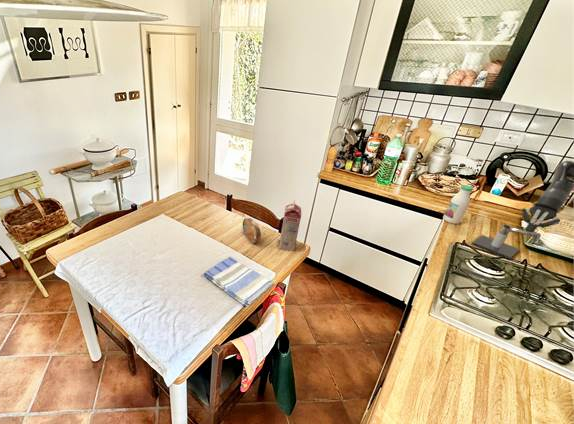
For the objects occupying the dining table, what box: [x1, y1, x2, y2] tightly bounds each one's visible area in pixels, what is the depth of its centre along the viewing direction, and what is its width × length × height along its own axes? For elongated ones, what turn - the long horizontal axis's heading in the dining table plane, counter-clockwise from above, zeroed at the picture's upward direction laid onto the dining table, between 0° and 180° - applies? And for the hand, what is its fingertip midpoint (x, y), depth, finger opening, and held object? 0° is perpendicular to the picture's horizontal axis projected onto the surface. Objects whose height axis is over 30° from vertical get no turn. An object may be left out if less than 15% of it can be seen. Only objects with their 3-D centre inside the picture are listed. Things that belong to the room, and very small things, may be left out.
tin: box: [242, 217, 262, 244], centre depth 145 cm, size 15×3×8 cm, turn 16°
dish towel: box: [203, 256, 276, 308], centre depth 119 cm, size 17×24×3 cm
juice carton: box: [278, 199, 302, 252], centre depth 136 cm, size 7×7×22 cm
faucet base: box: [471, 230, 520, 260], centre depth 140 cm, size 14×12×8 cm
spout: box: [498, 224, 542, 243], centre depth 136 cm, size 14×3×4 cm, turn 64°
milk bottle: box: [442, 184, 474, 225], centre depth 159 cm, size 8×8×20 cm
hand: (528, 231), depth 136 cm, fingers closed
